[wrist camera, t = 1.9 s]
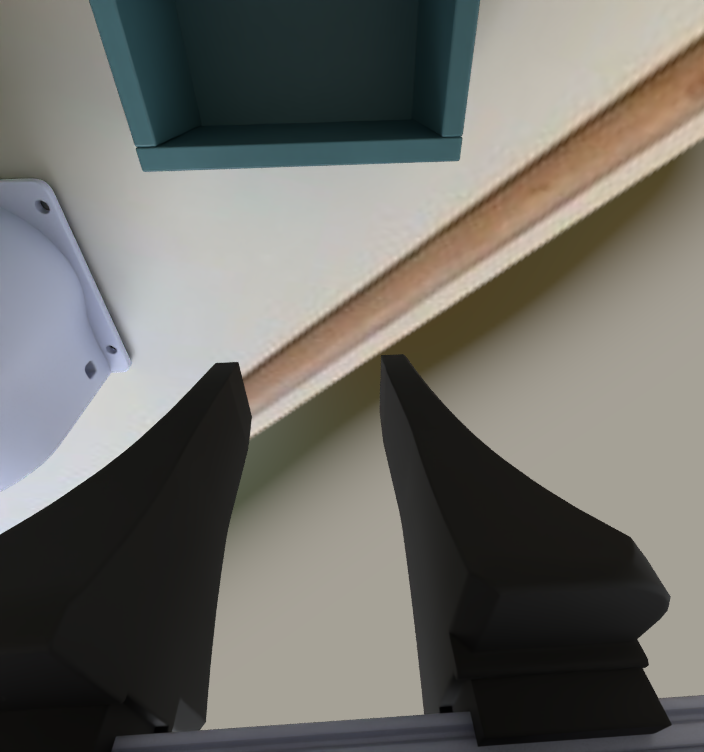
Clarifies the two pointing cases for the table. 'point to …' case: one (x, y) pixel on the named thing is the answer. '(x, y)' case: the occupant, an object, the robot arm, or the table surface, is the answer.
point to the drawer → (290, 80)
